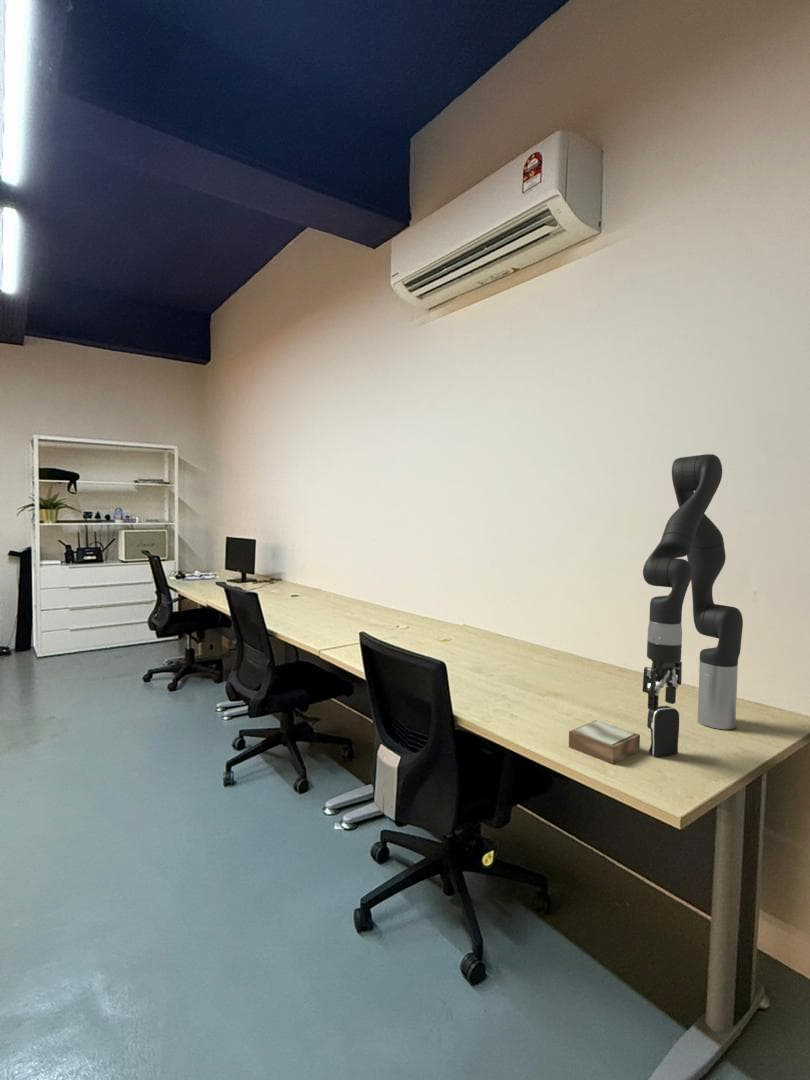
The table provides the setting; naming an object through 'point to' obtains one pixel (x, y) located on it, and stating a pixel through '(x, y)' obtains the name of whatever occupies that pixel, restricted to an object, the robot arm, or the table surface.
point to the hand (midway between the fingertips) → (661, 706)
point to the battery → (663, 731)
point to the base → (604, 741)
